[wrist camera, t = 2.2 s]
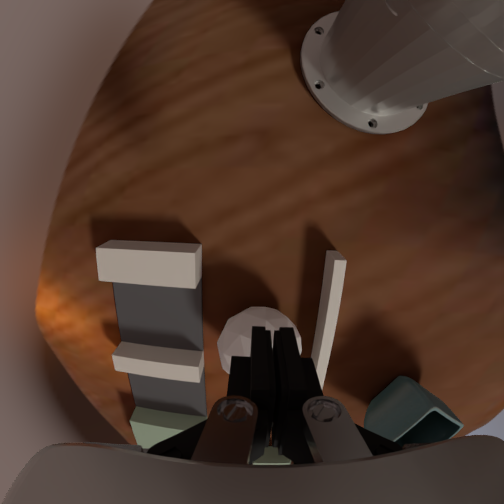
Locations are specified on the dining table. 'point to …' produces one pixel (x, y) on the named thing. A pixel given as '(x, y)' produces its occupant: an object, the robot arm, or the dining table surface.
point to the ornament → (249, 332)
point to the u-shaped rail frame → (182, 332)
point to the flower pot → (410, 414)
